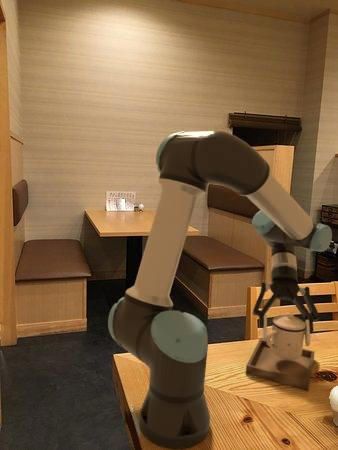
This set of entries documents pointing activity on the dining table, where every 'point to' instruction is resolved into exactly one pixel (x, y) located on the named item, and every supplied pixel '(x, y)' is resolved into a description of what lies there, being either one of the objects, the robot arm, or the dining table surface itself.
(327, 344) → the dining table surface
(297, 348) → the teacup with lid
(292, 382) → the walnut tray
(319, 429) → the dining table surface
